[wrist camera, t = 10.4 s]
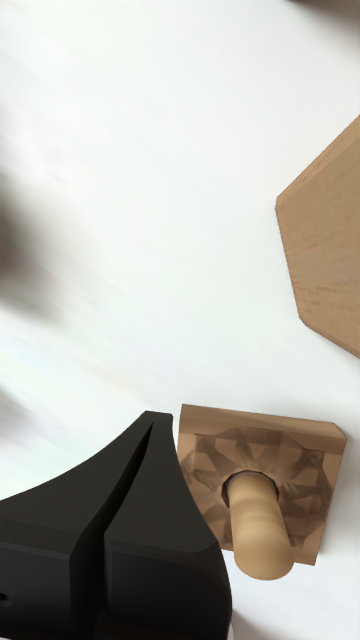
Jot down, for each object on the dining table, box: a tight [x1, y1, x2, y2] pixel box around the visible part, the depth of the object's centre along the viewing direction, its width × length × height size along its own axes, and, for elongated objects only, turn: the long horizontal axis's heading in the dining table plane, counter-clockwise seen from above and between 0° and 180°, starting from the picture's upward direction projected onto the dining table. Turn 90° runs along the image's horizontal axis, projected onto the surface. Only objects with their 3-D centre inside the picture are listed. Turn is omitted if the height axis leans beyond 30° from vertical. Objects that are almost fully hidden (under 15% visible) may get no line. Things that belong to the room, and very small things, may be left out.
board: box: [177, 404, 347, 566], centre depth 22 cm, size 13×13×2 cm
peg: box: [227, 470, 294, 580], centre depth 20 cm, size 4×4×7 cm
